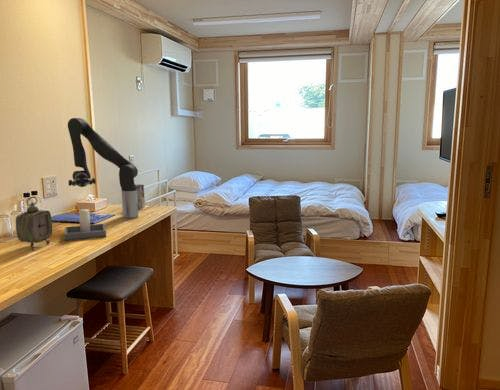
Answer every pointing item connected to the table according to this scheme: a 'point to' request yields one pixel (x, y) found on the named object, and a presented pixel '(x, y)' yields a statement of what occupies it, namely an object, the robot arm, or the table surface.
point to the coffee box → (140, 197)
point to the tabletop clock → (34, 225)
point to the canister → (84, 220)
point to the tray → (75, 233)
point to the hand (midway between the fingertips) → (82, 183)
